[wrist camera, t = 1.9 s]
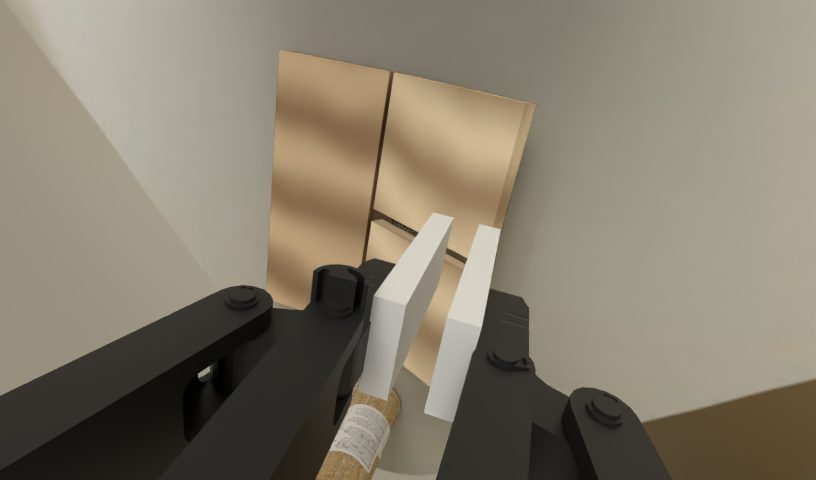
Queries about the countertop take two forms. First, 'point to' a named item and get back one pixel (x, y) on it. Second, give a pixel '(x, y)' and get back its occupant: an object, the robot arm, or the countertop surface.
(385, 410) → the sprinkles bottle
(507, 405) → the robot arm
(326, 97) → the laid board
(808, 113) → the countertop surface
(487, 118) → the plank
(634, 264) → the countertop surface
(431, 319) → the plank
